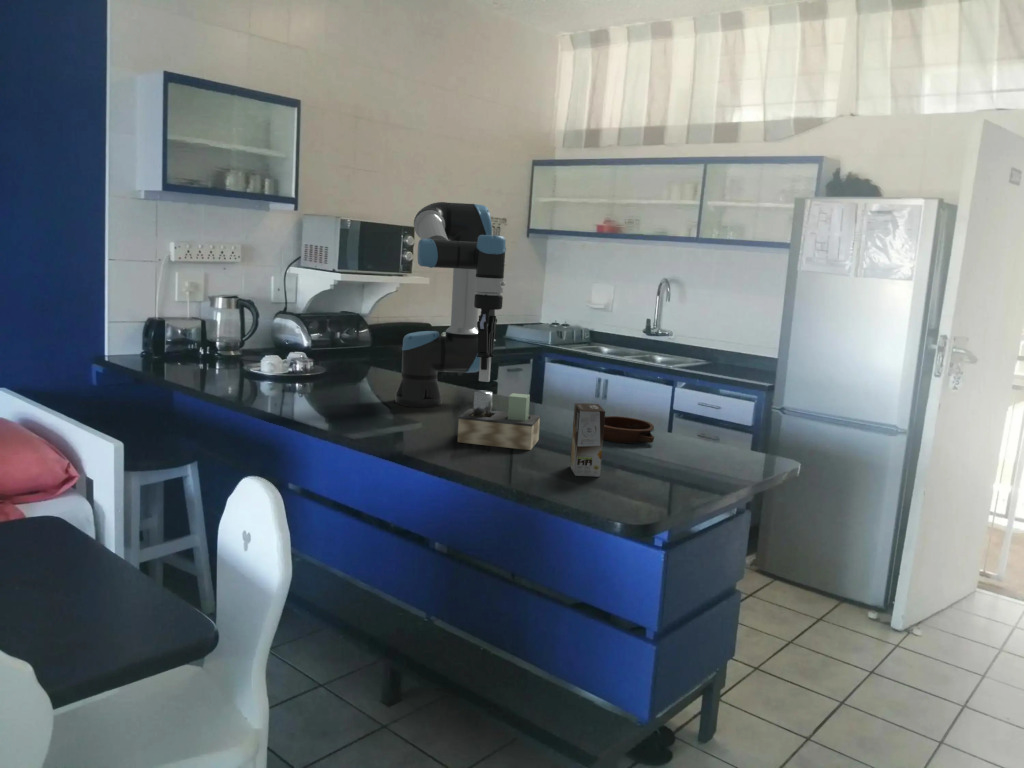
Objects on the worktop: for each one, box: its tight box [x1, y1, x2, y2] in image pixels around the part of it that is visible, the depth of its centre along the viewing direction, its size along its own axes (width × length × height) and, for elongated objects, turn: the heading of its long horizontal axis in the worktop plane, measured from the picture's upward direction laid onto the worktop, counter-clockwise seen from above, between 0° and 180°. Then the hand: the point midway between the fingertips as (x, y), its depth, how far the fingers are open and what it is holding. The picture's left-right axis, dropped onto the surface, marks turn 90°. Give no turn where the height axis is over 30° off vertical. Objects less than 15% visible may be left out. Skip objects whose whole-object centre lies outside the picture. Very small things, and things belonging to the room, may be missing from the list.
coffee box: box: [569, 402, 606, 478], centre depth 200 cm, size 9×6×16 cm
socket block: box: [457, 407, 541, 451], centre depth 226 cm, size 20×12×7 cm, turn 78°
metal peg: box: [472, 389, 494, 417], centre depth 226 cm, size 5×5×7 cm
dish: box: [603, 415, 655, 444], centre depth 238 cm, size 18×22×5 cm
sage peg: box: [507, 392, 531, 421], centre depth 224 cm, size 5×5×7 cm
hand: (484, 381), depth 224 cm, fingers closed
